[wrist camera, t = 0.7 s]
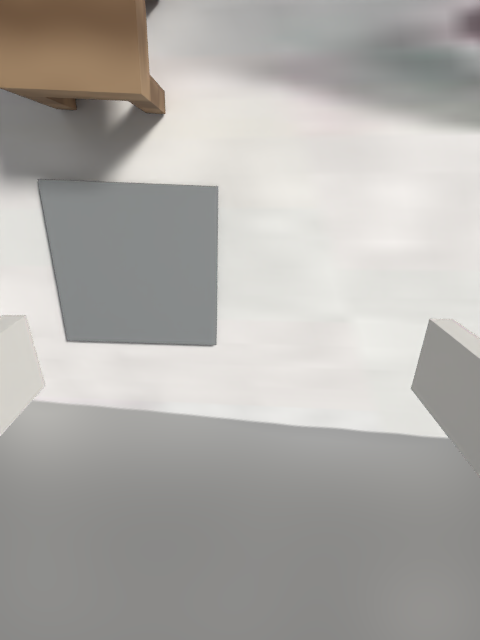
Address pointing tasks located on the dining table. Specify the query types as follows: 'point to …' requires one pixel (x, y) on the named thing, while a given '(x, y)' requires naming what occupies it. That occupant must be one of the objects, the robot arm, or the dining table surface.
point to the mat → (134, 260)
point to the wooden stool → (77, 52)
